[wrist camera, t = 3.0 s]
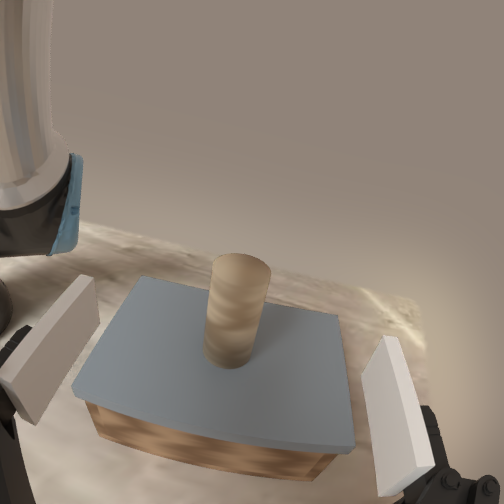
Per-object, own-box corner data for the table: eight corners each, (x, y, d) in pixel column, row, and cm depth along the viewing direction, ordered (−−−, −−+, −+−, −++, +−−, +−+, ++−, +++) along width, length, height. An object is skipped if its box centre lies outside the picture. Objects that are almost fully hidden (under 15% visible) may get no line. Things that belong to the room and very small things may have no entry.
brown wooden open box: (99, 436, 26) (82, 393, 22) (146, 337, 40) (144, 288, 36) (312, 481, 26) (342, 449, 22) (310, 371, 40) (329, 327, 36)
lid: (75, 396, 22) (44, 299, 17) (141, 285, 37) (142, 202, 32) (348, 454, 22) (412, 376, 17) (333, 324, 37) (364, 247, 32)
